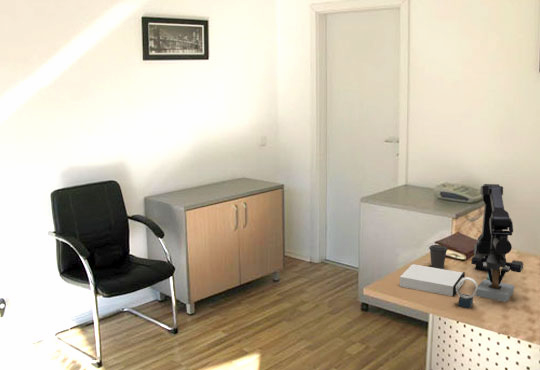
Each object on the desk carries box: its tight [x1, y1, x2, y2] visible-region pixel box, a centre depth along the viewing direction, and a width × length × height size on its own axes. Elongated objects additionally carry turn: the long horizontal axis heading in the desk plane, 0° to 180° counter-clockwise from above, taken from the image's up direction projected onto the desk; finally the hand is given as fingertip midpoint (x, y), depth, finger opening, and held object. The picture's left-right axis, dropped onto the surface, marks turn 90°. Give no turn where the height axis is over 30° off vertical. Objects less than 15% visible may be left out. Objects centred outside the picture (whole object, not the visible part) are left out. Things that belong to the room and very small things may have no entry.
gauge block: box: [475, 278, 515, 303], centre depth 245 cm, size 12×12×3 cm
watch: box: [455, 276, 479, 310], centre depth 234 cm, size 6×8×11 cm
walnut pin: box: [491, 268, 501, 290], centre depth 244 cm, size 3×3×9 cm
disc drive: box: [399, 263, 466, 298], centre depth 255 cm, size 18×22×5 cm
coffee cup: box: [428, 244, 448, 269], centre depth 274 cm, size 8×8×10 cm
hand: (495, 283), depth 244 cm, fingers closed on walnut pin, 3 cm apart
